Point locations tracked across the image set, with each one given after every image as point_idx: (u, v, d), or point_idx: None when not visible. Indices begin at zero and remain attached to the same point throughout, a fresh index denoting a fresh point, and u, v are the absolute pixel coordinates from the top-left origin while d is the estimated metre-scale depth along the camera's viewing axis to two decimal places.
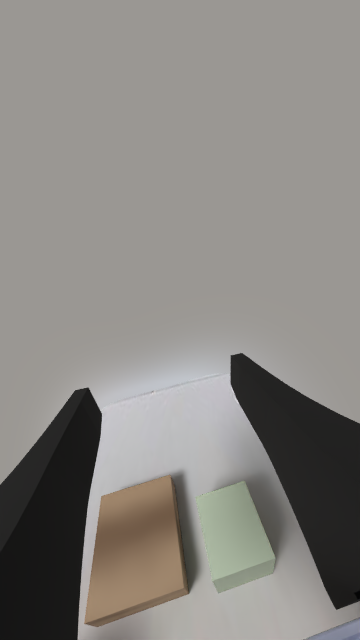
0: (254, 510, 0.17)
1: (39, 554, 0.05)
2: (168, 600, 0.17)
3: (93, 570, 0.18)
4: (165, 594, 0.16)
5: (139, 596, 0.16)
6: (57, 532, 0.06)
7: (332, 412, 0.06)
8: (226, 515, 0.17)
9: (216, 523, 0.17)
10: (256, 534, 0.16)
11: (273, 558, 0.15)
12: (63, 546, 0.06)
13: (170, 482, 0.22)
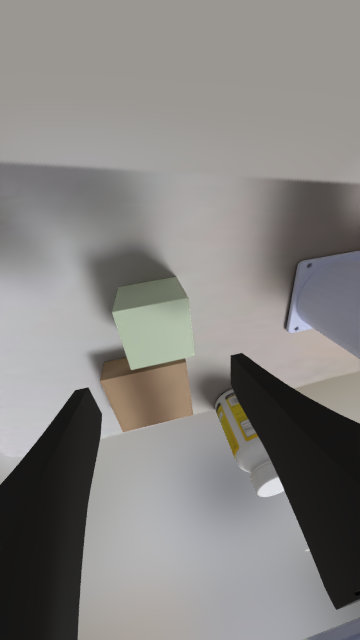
0: (146, 308, 0.13)
1: (39, 554, 0.05)
2: None
3: (170, 419, 0.22)
4: (187, 373, 0.20)
5: (186, 389, 0.20)
6: (57, 532, 0.06)
7: (332, 412, 0.06)
8: (149, 339, 0.14)
9: (156, 350, 0.15)
10: (168, 311, 0.13)
11: (187, 299, 0.13)
12: (63, 546, 0.06)
13: (108, 379, 0.18)
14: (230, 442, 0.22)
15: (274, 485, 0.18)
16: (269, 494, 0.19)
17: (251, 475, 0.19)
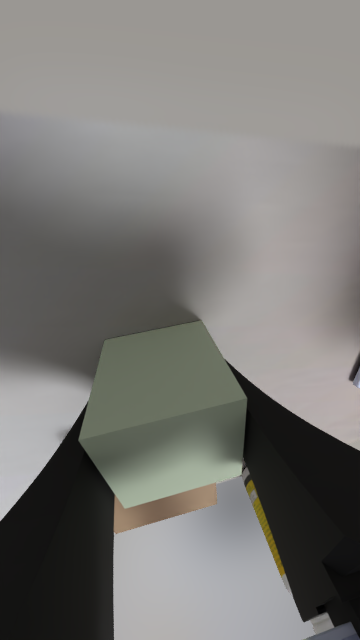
0: (157, 424, 0.06)
1: (81, 541, 0.05)
2: None
3: (185, 512, 0.15)
4: None
5: None
6: (93, 521, 0.06)
7: (301, 420, 0.06)
8: (161, 467, 0.07)
9: (173, 478, 0.08)
10: (203, 423, 0.06)
11: (244, 399, 0.06)
12: (98, 535, 0.06)
13: None
14: (272, 548, 0.15)
15: None
16: None
17: (314, 622, 0.12)
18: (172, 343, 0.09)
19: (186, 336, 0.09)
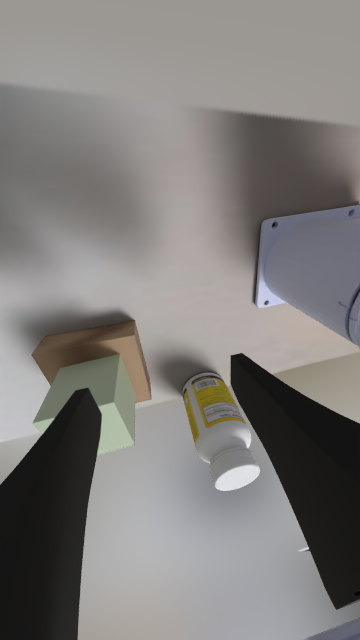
0: None
1: (39, 554, 0.05)
2: (138, 337, 0.19)
3: None
4: (138, 349, 0.17)
5: (139, 368, 0.18)
6: (57, 532, 0.06)
7: (332, 412, 0.06)
8: None
9: None
10: None
11: (114, 402, 0.13)
12: (63, 546, 0.06)
13: (42, 352, 0.16)
14: (192, 430, 0.20)
15: (234, 477, 0.16)
16: (230, 488, 0.17)
17: (210, 466, 0.17)
18: (95, 370, 0.15)
19: (105, 365, 0.16)
